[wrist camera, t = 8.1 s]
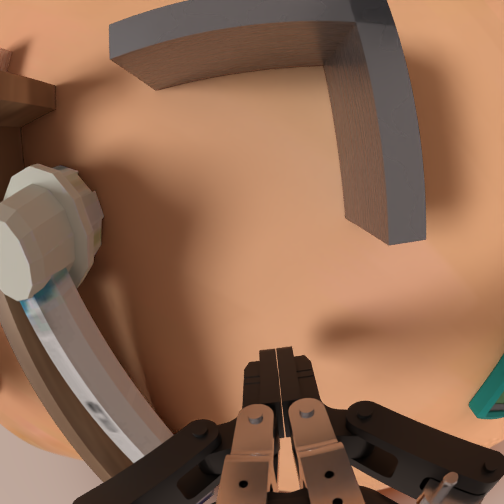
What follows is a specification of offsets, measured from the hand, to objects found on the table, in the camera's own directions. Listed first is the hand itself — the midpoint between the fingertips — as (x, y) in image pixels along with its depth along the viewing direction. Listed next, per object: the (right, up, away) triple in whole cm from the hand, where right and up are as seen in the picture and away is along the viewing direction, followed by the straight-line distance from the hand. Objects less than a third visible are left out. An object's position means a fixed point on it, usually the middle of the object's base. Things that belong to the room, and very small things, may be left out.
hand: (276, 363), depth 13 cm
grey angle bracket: (0, +11, -1) cm, 11 cm away
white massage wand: (-9, -2, +4) cm, 10 cm away
